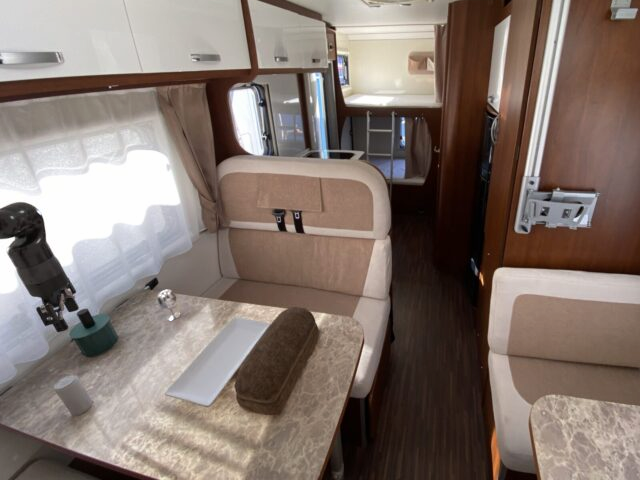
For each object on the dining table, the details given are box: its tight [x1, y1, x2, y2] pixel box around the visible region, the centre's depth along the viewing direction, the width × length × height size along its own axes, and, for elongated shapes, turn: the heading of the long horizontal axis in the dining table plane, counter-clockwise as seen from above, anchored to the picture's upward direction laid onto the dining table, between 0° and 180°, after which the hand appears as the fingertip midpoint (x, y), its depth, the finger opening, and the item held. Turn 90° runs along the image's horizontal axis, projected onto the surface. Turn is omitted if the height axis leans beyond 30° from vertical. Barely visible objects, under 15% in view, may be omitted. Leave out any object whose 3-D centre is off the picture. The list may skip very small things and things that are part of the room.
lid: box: [68, 308, 111, 340], centre depth 107 cm, size 11×11×8 cm
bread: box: [234, 306, 320, 416], centre depth 97 cm, size 15×32×16 cm, turn 167°
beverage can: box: [53, 373, 94, 416], centre depth 89 cm, size 5×5×12 cm
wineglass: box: [157, 288, 181, 321], centre depth 122 cm, size 6×6×12 cm
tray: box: [164, 316, 271, 408], centre depth 103 cm, size 17×32×4 cm, turn 166°
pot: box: [73, 320, 119, 358], centre depth 110 cm, size 10×10×10 cm
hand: (69, 320), depth 87 cm, fingers open, 8 cm apart
